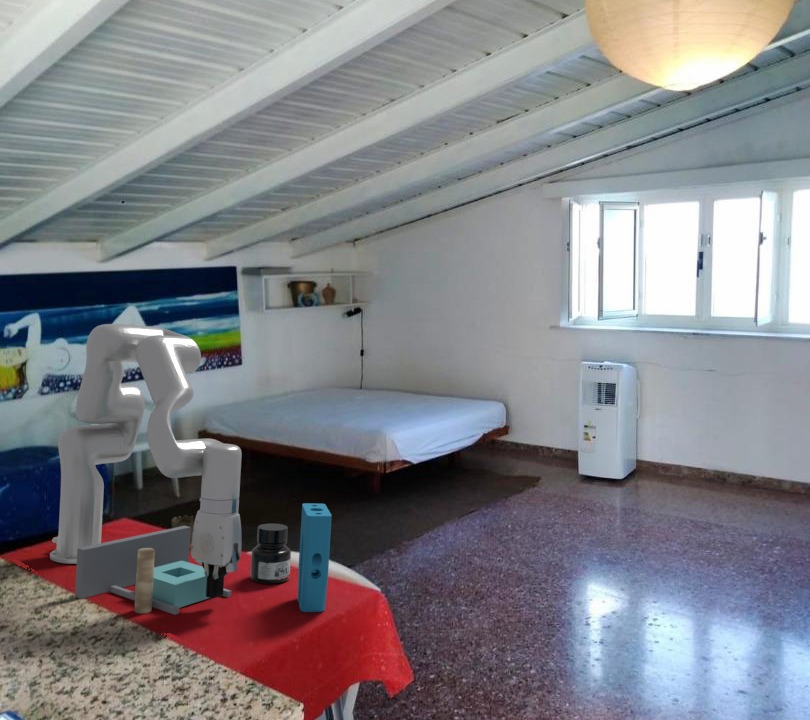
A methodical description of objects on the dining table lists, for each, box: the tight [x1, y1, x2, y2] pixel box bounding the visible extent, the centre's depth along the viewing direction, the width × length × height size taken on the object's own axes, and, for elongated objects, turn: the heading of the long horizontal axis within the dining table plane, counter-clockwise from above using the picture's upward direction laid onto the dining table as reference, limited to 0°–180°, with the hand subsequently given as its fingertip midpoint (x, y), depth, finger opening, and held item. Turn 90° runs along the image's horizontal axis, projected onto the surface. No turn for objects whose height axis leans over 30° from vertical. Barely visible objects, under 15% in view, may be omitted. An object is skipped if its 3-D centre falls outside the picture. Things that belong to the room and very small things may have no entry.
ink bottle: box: [249, 523, 292, 585], centre depth 174 cm, size 10×9×12 cm
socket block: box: [134, 561, 211, 609], centre depth 159 cm, size 12×12×5 cm
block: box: [297, 502, 332, 613], centre depth 159 cm, size 12×5×20 cm, turn 13°
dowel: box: [134, 548, 155, 614], centre depth 150 cm, size 3×3×12 cm
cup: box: [170, 514, 195, 550], centre depth 194 cm, size 8×7×8 cm
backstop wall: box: [74, 526, 232, 615], centre depth 161 cm, size 22×28×10 cm
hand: (214, 596), depth 153 cm, fingers closed
